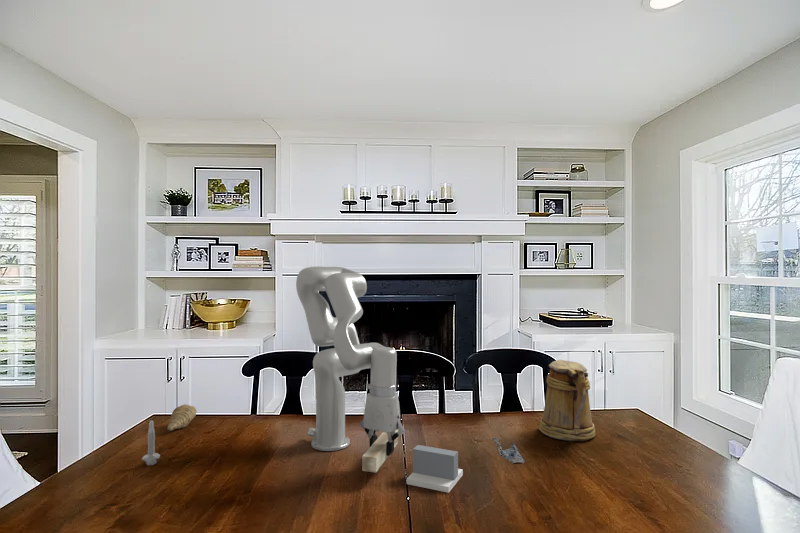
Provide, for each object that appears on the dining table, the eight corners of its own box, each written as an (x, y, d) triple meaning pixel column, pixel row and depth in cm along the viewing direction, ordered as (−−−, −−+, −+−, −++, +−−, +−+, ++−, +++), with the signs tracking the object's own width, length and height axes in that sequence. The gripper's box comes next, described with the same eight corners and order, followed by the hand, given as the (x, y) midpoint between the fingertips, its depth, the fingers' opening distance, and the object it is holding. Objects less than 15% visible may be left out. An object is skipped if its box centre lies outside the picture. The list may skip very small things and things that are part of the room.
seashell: (183, 435, 167) (183, 412, 167) (159, 435, 167) (159, 412, 167) (198, 422, 181) (198, 401, 181) (176, 423, 181) (176, 402, 181)
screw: (156, 459, 146) (162, 463, 142) (139, 463, 142) (145, 468, 139) (156, 416, 146) (162, 420, 143) (139, 420, 142) (145, 423, 139)
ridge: (406, 484, 128) (406, 454, 128) (423, 467, 139) (423, 440, 139) (448, 492, 123) (448, 461, 123) (462, 474, 134) (462, 446, 134)
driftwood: (525, 466, 141) (525, 459, 142) (503, 466, 142) (502, 458, 142) (513, 442, 162) (513, 436, 162) (493, 442, 162) (493, 435, 163)
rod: (362, 470, 129) (362, 456, 129) (385, 440, 150) (386, 428, 150) (376, 472, 128) (376, 458, 128) (398, 442, 149) (398, 429, 149)
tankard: (577, 423, 179) (577, 357, 179) (613, 446, 156) (612, 370, 156) (531, 425, 177) (531, 358, 177) (560, 449, 154) (560, 371, 154)
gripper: (351, 389, 139) (350, 451, 139) (404, 397, 132) (402, 463, 132) (364, 383, 146) (362, 442, 146) (414, 391, 138) (413, 453, 139)
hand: (381, 451), depth 139 cm, fingers closed on rod, 4 cm apart
